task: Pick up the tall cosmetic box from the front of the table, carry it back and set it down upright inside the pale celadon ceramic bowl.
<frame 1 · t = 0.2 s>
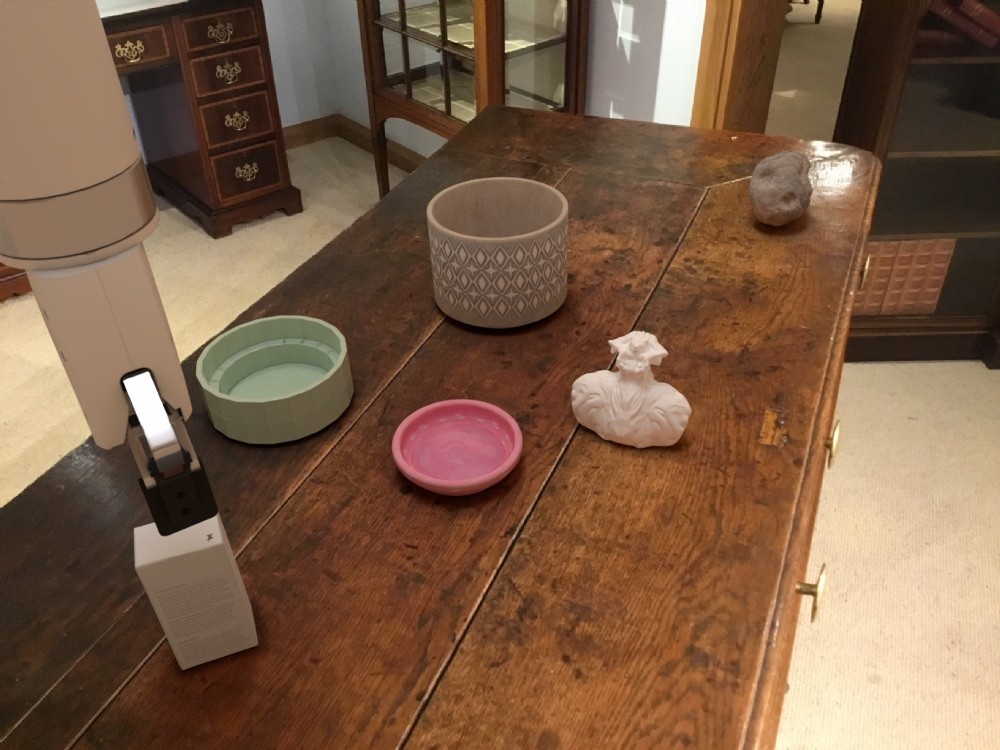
hand: (166, 471, 50), 23 cm above the sideboard, tool pointing down, fingers open, 9 cm apart
bowl: (283, 400, 91), on the sideboard
saucer: (459, 464, 83), on the sideboard
bust: (629, 428, 86), on the sideboard
cosmetic box: (217, 639, 68), on the sideboard
planter: (501, 301, 106), on the sideboard
stone: (777, 217, 122), on the sideboard
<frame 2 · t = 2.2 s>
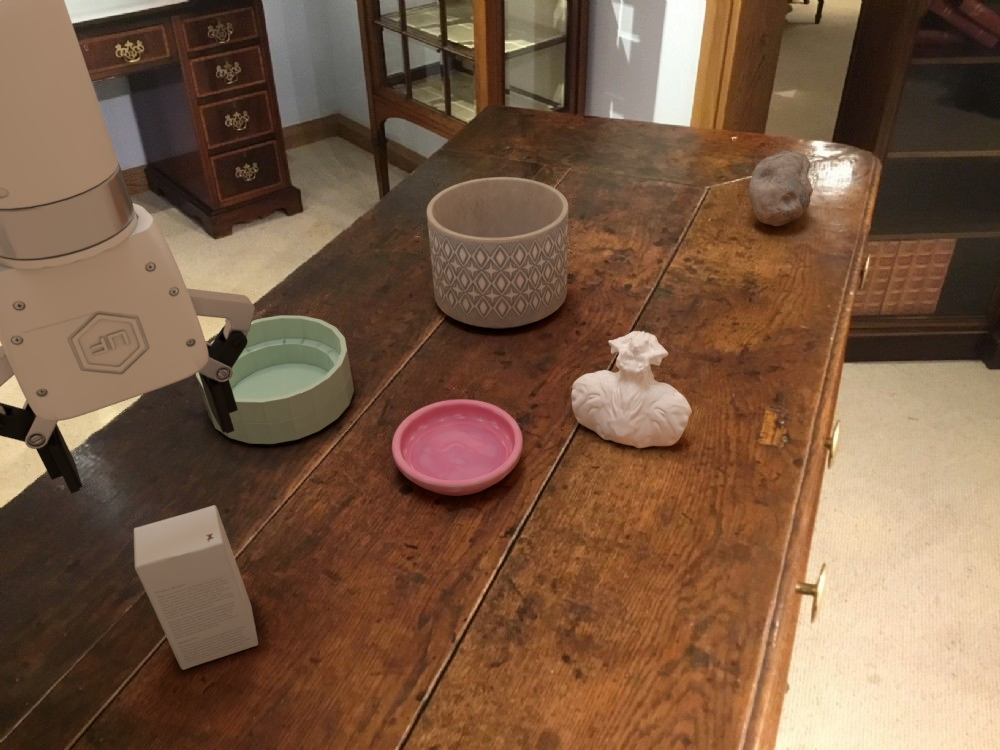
hand: (150, 449, 55), 20 cm above the sideboard, tool pointing down, fingers open, 9 cm apart
nothing on the sideboard moved.
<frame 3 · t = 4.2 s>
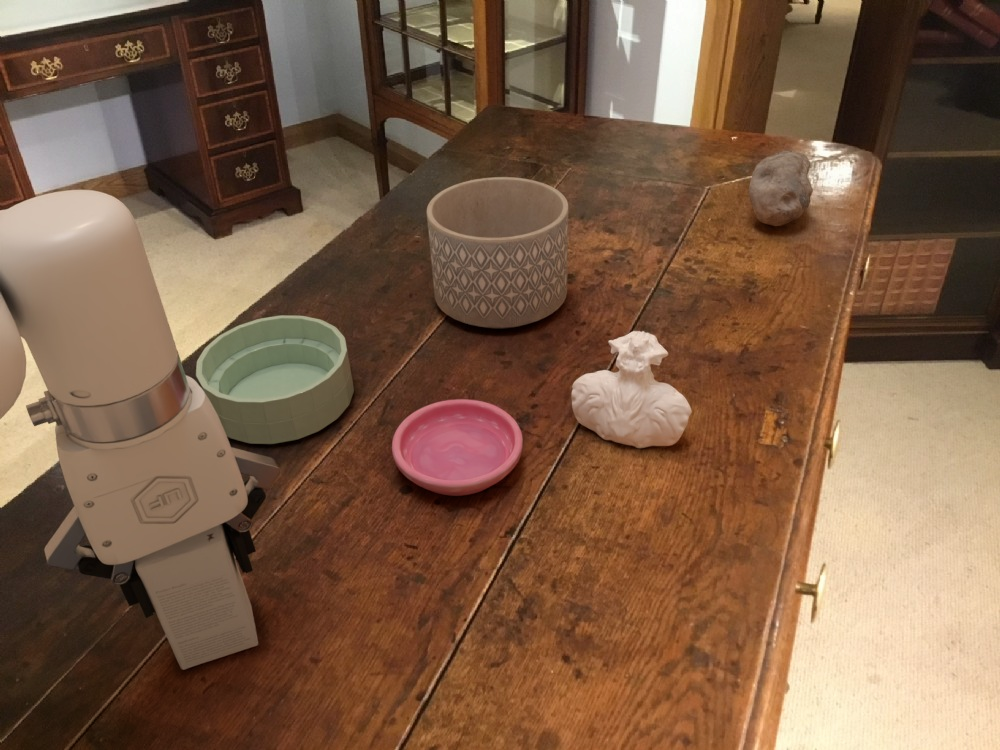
hand: (195, 579, 63), 7 cm above the sideboard, tool pointing down, fingers closed on cosmetic box, 6 cm apart
cosmetic box: (217, 639, 68), on the sideboard, touching gripper
everything else where it was.
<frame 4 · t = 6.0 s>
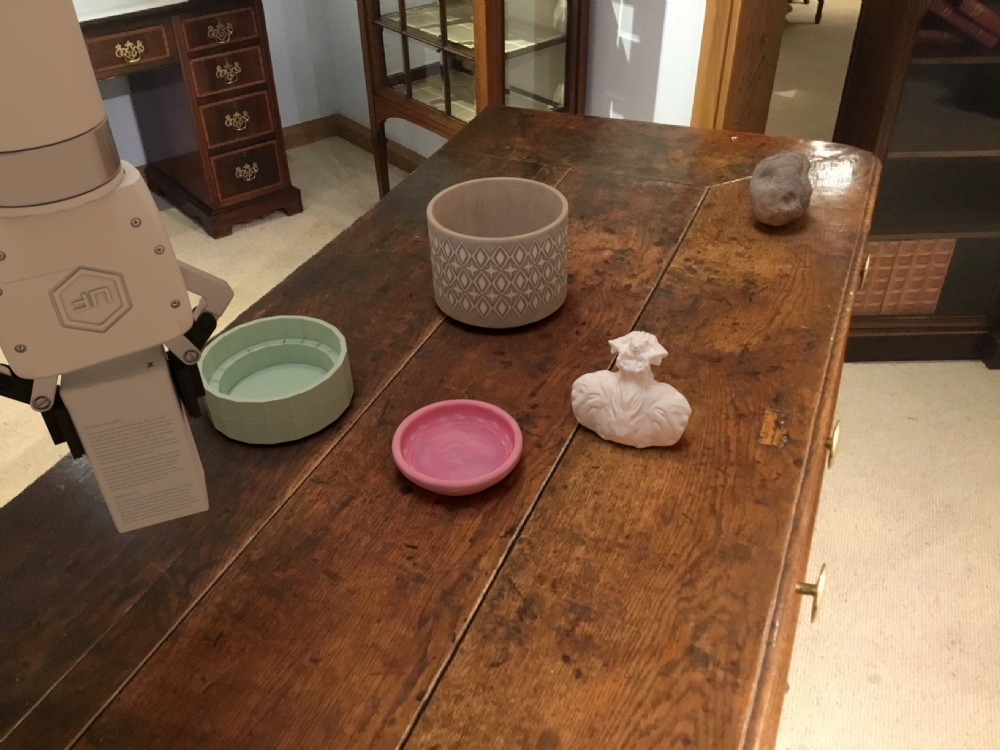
hand: (134, 423, 55), 22 cm above the sideboard, tool pointing down, fingers closed on cosmetic box, 6 cm apart
cosmetic box: (163, 505, 59), point 15 cm above the sideboard, touching gripper
everything else where it was.
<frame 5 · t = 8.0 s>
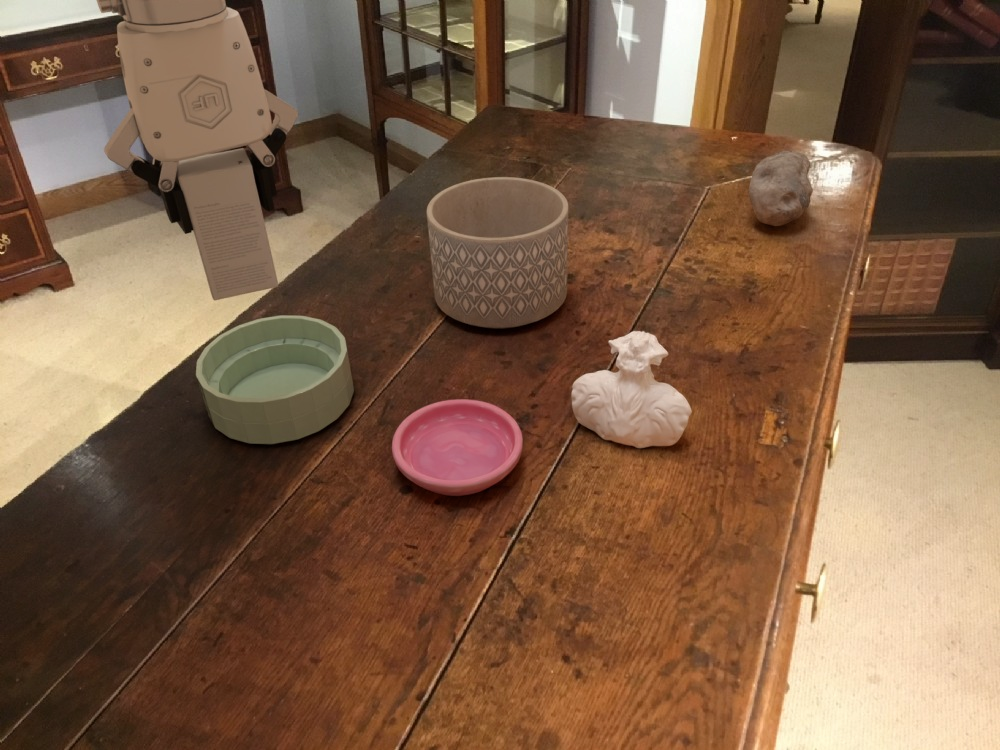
hand: (225, 214, 75), 24 cm above the sideboard, tool pointing down, fingers closed on cosmetic box, 6 cm apart
cosmetic box: (243, 286, 79), point 16 cm above the sideboard, touching gripper
everything else where it was.
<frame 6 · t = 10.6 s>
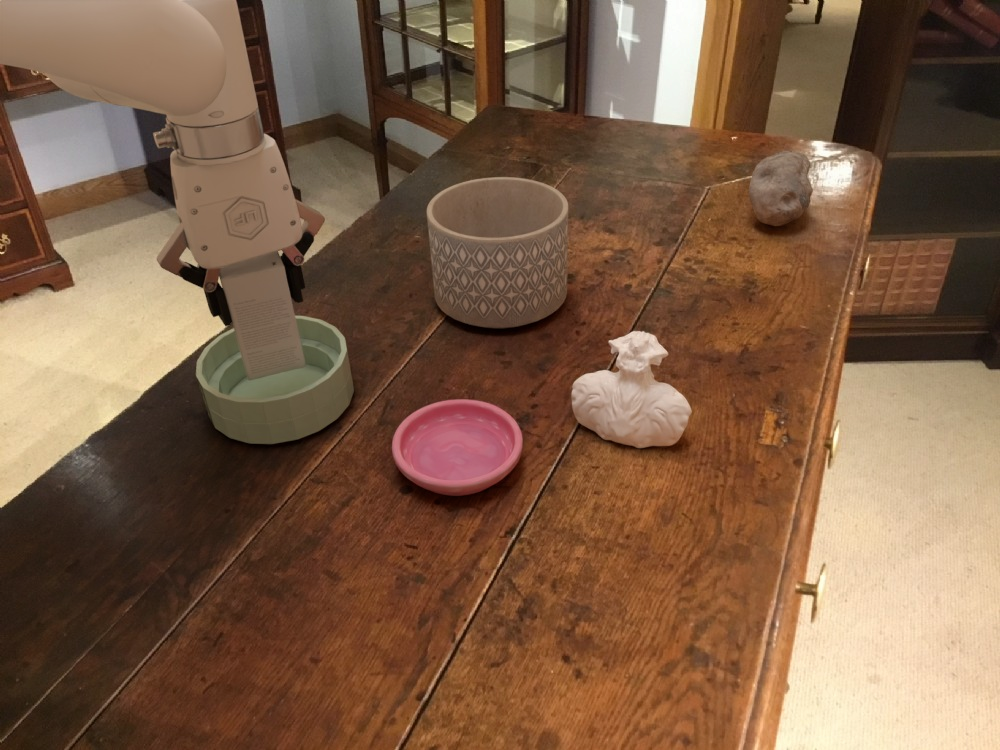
hand: (260, 306, 84), 12 cm above the sideboard, tool pointing down, fingers closed on cosmetic box, 6 cm apart
cosmetic box: (274, 365, 88), point 5 cm above the sideboard, touching gripper
everything else where it was.
when the fingers open (8 cm above the sideboard, at t = 12.3 s): cosmetic box stays where it is, resting on bowl.
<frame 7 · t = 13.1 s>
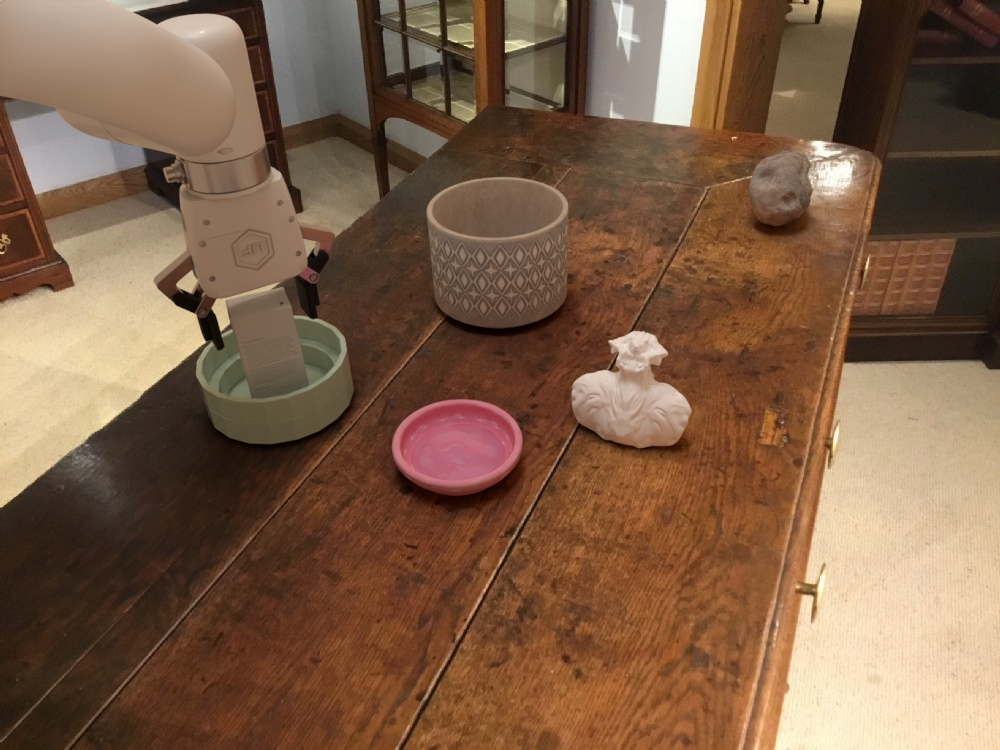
hand: (264, 328, 86), 10 cm above the sideboard, tool pointing down, fingers open, 9 cm apart
cosmetic box: (281, 398, 91), resting on bowl
everything else where it was.
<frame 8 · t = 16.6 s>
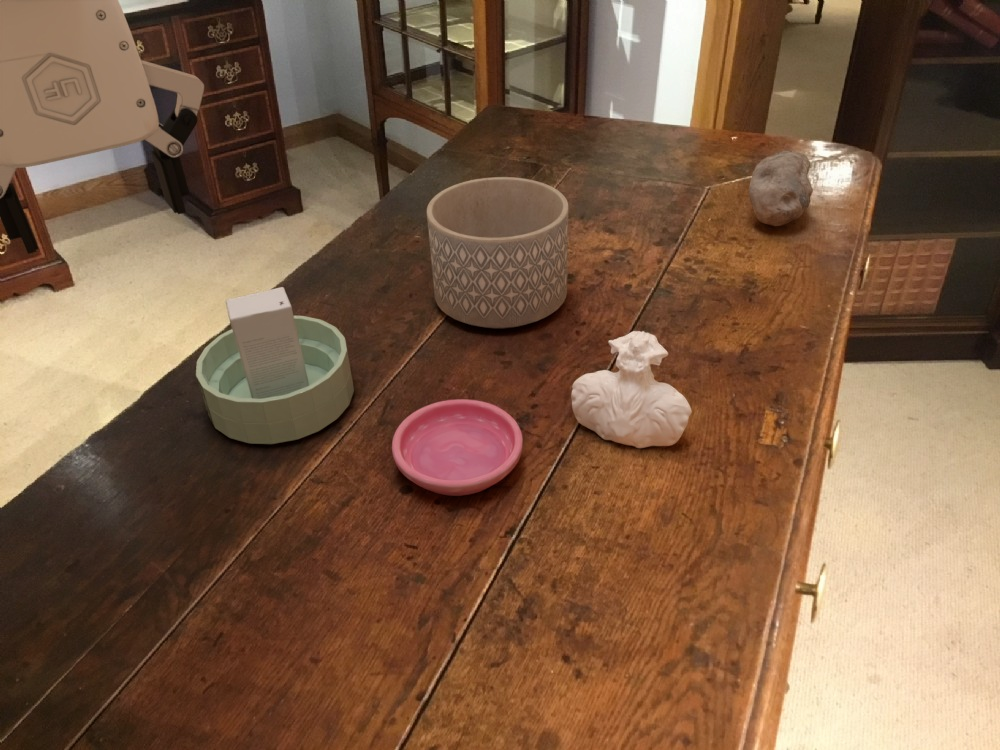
hand: (105, 225, 59), 30 cm above the sideboard, tool pointing down, fingers open, 9 cm apart
nothing on the sideboard moved.
at the end: cosmetic box inside the target area in the bowl (0.1 cm from its centre), point 0.4 cm above the bowl's base; the gripper is holding nothing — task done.
